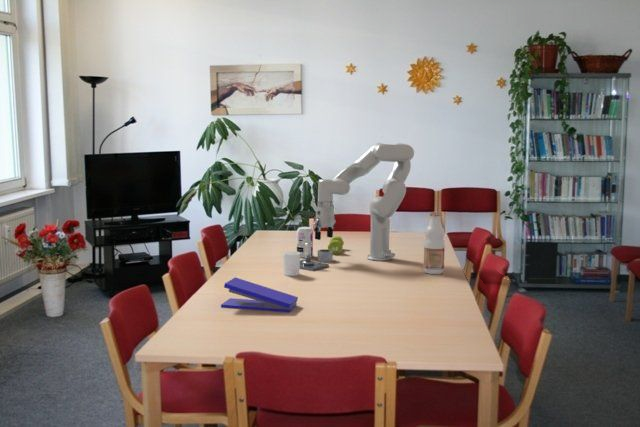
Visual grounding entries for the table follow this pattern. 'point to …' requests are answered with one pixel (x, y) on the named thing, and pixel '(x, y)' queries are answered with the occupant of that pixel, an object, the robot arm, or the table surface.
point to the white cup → (291, 263)
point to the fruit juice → (434, 246)
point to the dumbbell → (336, 244)
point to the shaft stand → (309, 264)
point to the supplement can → (304, 239)
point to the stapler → (258, 297)
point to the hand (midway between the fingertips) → (323, 238)
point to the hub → (325, 255)
